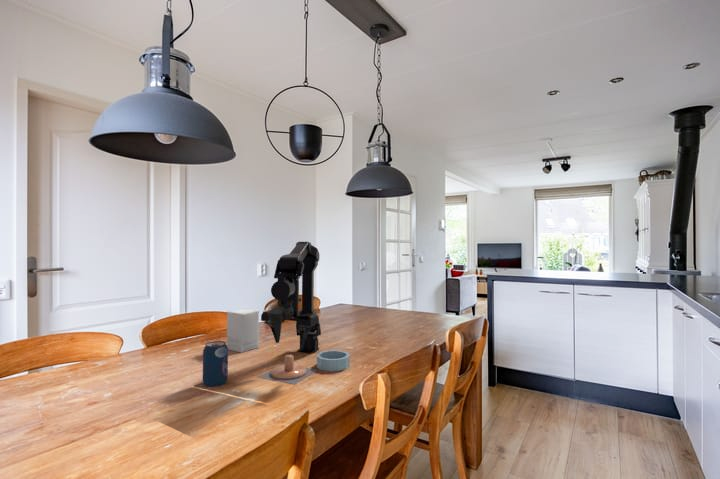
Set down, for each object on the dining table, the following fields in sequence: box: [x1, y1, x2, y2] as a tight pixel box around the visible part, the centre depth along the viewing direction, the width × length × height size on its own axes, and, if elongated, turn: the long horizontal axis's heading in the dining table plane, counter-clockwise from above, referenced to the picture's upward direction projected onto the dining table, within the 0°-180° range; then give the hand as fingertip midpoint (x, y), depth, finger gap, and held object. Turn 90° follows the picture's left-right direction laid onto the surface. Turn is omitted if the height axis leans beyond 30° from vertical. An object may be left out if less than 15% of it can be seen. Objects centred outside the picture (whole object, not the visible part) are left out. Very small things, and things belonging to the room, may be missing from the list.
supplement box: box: [226, 308, 260, 353], centre depth 148 cm, size 9×9×15 cm
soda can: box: [202, 340, 229, 387], centre depth 110 cm, size 7×7×12 cm
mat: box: [257, 363, 320, 385], centre depth 118 cm, size 14×14×1 cm
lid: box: [271, 354, 307, 380], centre depth 119 cm, size 11×11×6 cm
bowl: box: [316, 349, 351, 372], centre depth 127 cm, size 11×11×4 cm
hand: (289, 344), depth 119 cm, fingers open, 9 cm apart
